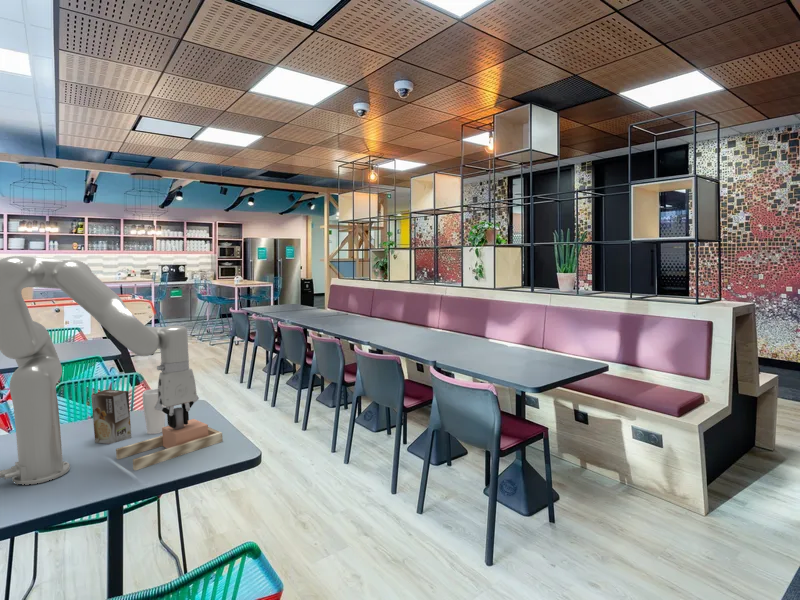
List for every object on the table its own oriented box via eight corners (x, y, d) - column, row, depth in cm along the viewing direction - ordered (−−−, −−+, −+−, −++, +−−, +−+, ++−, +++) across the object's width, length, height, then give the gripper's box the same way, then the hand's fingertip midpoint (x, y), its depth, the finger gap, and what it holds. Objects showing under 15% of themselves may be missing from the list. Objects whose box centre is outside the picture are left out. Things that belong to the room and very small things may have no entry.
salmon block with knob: (176, 453, 139) (174, 414, 138) (163, 446, 144) (161, 408, 143) (208, 443, 146) (206, 406, 145) (194, 436, 152) (192, 400, 151)
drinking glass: (171, 431, 161) (169, 388, 159) (159, 438, 154) (157, 394, 153) (153, 430, 161) (150, 388, 160) (140, 438, 155) (137, 393, 153)
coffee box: (132, 437, 155) (129, 390, 154) (116, 445, 149) (113, 396, 147) (110, 435, 157) (107, 389, 156) (93, 442, 151) (90, 394, 150)
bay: (135, 474, 128) (134, 460, 128) (116, 462, 136) (115, 448, 136) (222, 444, 148) (222, 432, 148) (201, 435, 156) (201, 424, 156)
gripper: (153, 373, 133) (156, 436, 135) (207, 363, 146) (210, 420, 147) (141, 370, 138) (145, 430, 139) (195, 360, 150) (198, 415, 152)
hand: (178, 424), depth 143 cm, fingers closed on salmon block with knob, 3 cm apart
